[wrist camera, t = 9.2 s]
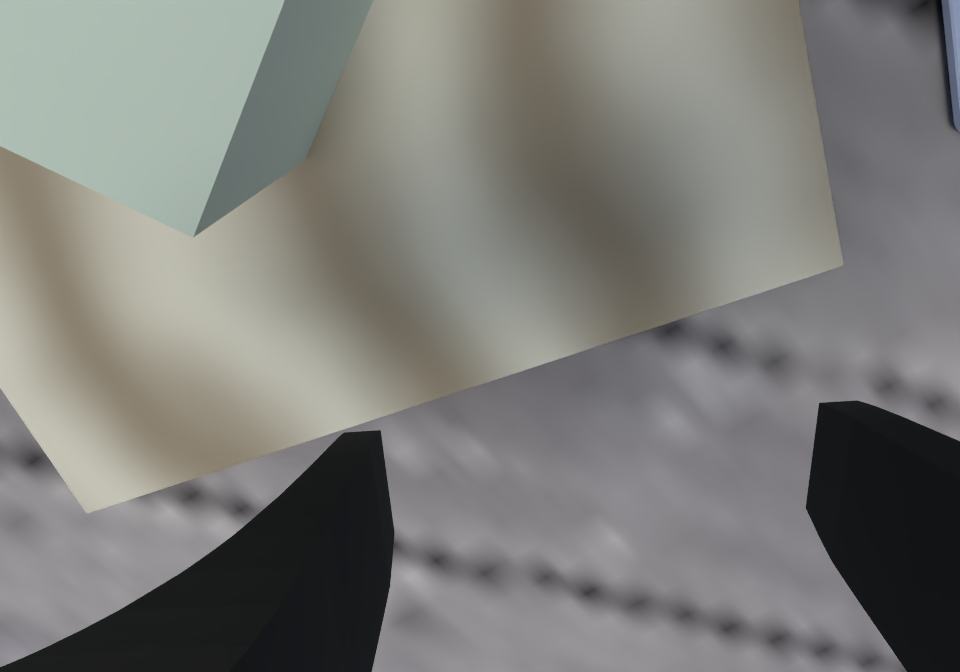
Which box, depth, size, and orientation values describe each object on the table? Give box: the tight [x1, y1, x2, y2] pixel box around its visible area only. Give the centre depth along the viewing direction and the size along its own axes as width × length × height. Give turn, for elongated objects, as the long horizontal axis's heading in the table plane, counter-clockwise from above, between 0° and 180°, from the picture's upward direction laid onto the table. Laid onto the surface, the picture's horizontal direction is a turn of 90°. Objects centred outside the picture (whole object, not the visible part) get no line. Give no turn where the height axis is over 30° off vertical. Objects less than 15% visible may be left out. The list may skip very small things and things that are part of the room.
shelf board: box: [0, 0, 844, 513], centre depth 19 cm, size 24×18×2 cm
